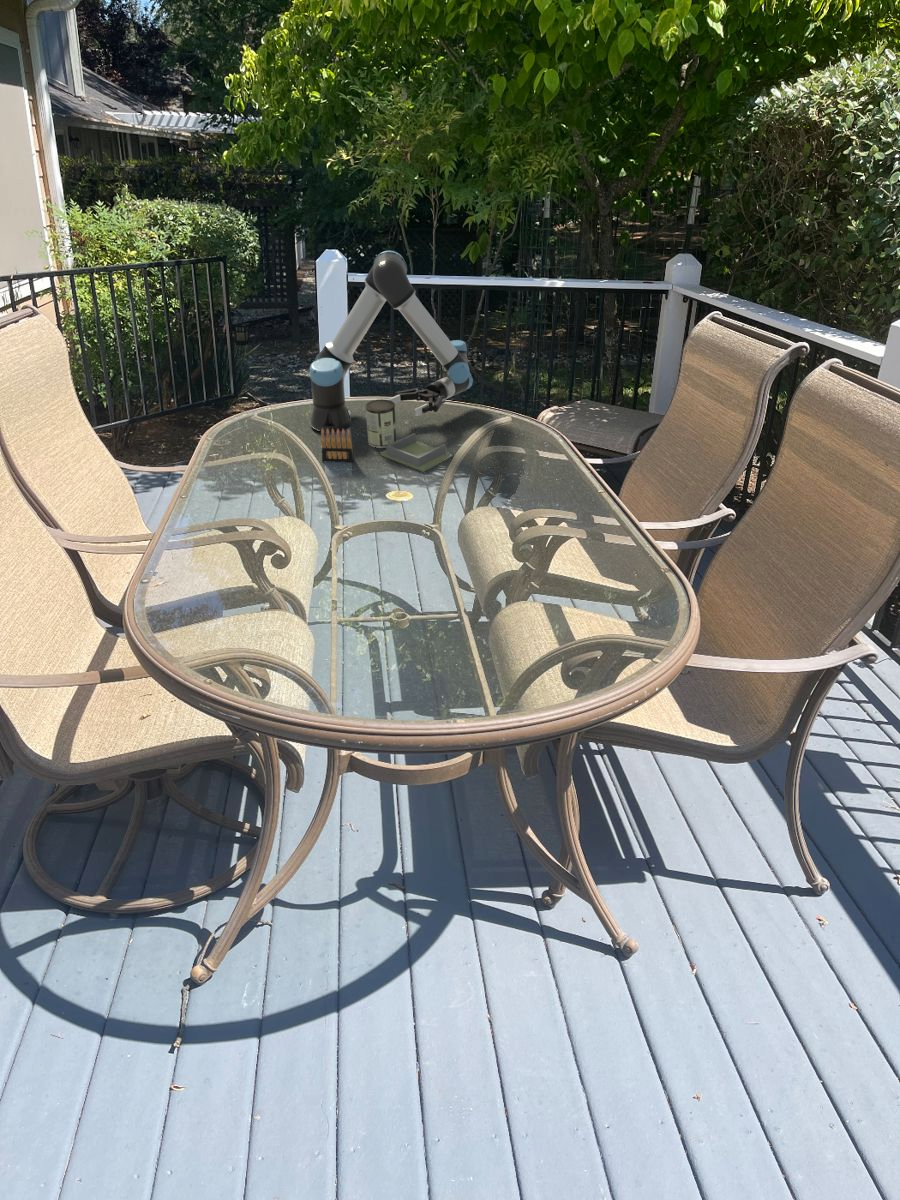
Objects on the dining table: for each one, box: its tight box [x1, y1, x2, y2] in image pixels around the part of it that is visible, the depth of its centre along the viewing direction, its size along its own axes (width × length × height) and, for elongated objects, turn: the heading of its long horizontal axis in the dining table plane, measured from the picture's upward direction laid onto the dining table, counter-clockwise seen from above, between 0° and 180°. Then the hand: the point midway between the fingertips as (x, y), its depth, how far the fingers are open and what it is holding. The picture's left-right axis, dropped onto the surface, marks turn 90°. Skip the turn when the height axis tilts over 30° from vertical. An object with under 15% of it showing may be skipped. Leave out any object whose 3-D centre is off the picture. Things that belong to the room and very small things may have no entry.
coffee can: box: [364, 398, 398, 449], centre depth 310 cm, size 10×10×14 cm
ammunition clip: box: [320, 428, 355, 463], centre depth 298 cm, size 11×2×12 cm, turn 87°
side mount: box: [379, 432, 449, 473], centre depth 303 cm, size 20×15×4 cm
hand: (400, 408), depth 314 cm, fingers open, 13 cm apart
